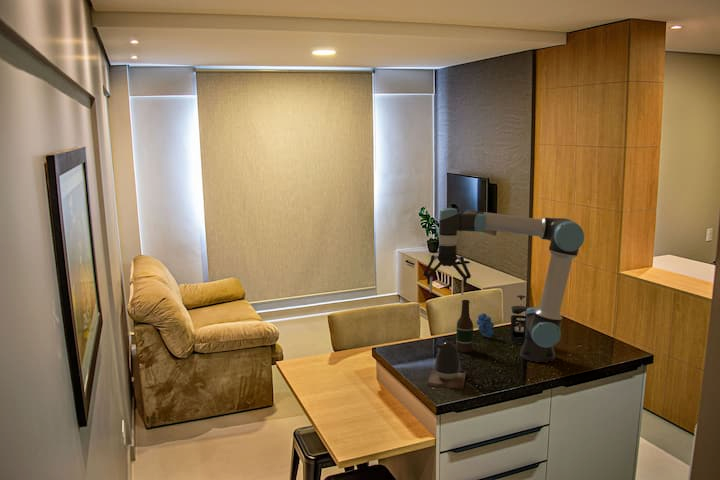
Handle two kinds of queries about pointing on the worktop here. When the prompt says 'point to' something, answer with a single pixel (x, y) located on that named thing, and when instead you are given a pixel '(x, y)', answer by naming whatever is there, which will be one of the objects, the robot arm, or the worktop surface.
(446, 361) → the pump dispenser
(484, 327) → the grapes
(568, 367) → the worktop surface
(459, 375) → the walnut board
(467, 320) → the beer bottle
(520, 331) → the french press
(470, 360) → the worktop surface
